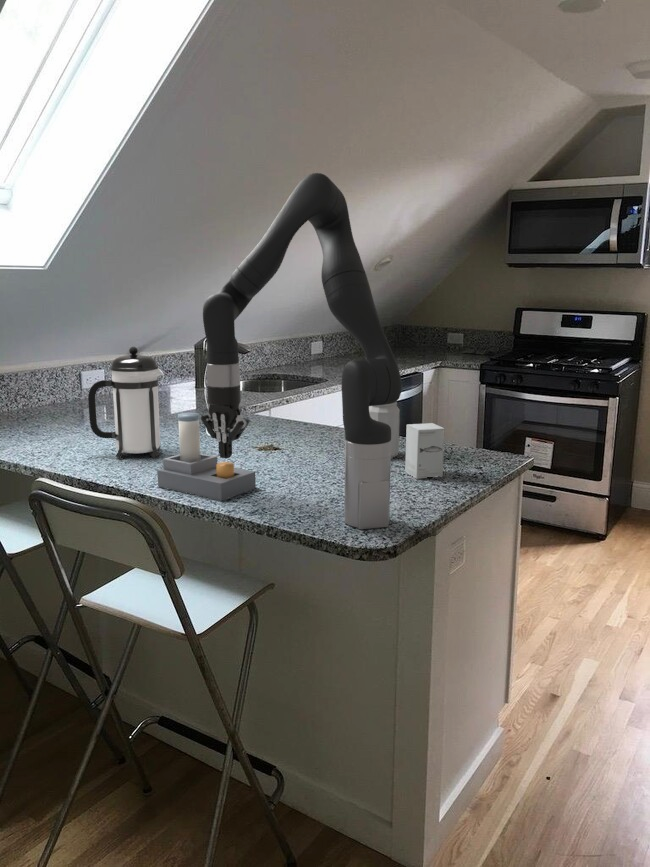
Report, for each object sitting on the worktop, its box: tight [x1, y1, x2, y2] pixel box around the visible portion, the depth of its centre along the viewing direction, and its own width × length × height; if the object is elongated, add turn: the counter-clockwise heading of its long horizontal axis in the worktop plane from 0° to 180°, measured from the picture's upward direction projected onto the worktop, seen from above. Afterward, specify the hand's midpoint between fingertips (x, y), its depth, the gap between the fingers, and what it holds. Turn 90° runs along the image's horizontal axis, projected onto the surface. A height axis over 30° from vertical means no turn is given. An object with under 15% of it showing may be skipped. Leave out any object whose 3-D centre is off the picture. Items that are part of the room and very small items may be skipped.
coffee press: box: [87, 346, 165, 460], centre depth 202 cm, size 17×16×30 cm
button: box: [216, 461, 235, 479], centre depth 171 cm, size 4×4×4 cm
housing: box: [156, 452, 257, 502], centre depth 174 cm, size 20×12×6 cm, turn 56°
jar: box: [369, 401, 401, 459], centre depth 203 cm, size 10×10×18 cm
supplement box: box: [404, 422, 445, 480], centre depth 184 cm, size 7×7×13 cm
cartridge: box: [177, 412, 201, 463], centre depth 175 cm, size 5×5×13 cm
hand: (225, 457), depth 170 cm, fingers closed
